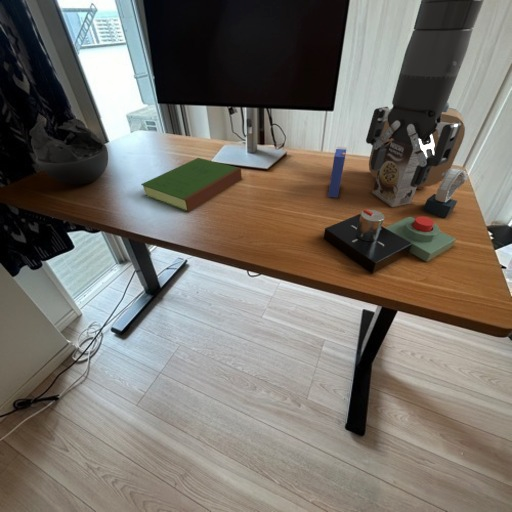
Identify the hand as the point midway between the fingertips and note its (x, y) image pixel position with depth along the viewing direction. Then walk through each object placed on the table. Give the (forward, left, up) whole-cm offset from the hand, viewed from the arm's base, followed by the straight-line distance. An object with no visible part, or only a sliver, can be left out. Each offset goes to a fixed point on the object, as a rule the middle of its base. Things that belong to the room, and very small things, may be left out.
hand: (394, 176), depth 49 cm
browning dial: (+1, +2, -13) cm, 13 cm away
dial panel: (+1, +2, -16) cm, 16 cm away
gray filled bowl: (+76, +52, -16) cm, 93 cm away
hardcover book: (+51, +22, -16) cm, 58 cm away
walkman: (+24, -11, -16) cm, 31 cm away
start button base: (-4, -9, -16) cm, 19 cm away
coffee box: (+12, -21, -16) cm, 29 cm away
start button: (-4, -9, -12) cm, 16 cm away
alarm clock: (+17, -33, -16) cm, 40 cm away
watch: (+1, -25, -16) cm, 30 cm away
